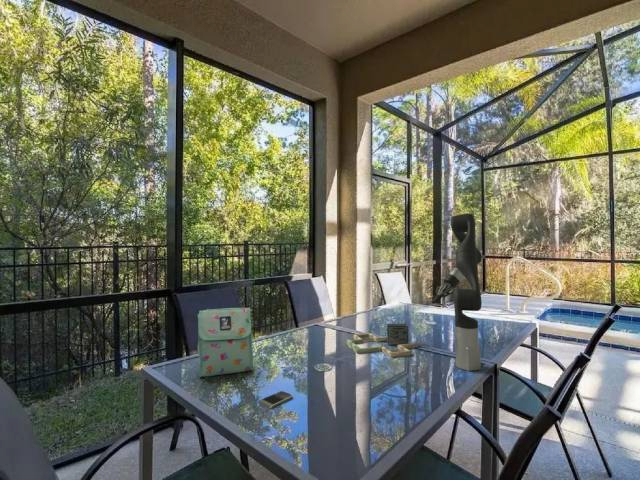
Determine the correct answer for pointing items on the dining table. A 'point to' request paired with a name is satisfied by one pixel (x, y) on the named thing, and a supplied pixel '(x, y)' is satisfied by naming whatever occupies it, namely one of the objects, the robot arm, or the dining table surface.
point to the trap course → (369, 337)
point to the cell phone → (275, 399)
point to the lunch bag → (224, 341)
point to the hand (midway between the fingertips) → (435, 301)
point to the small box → (397, 334)
